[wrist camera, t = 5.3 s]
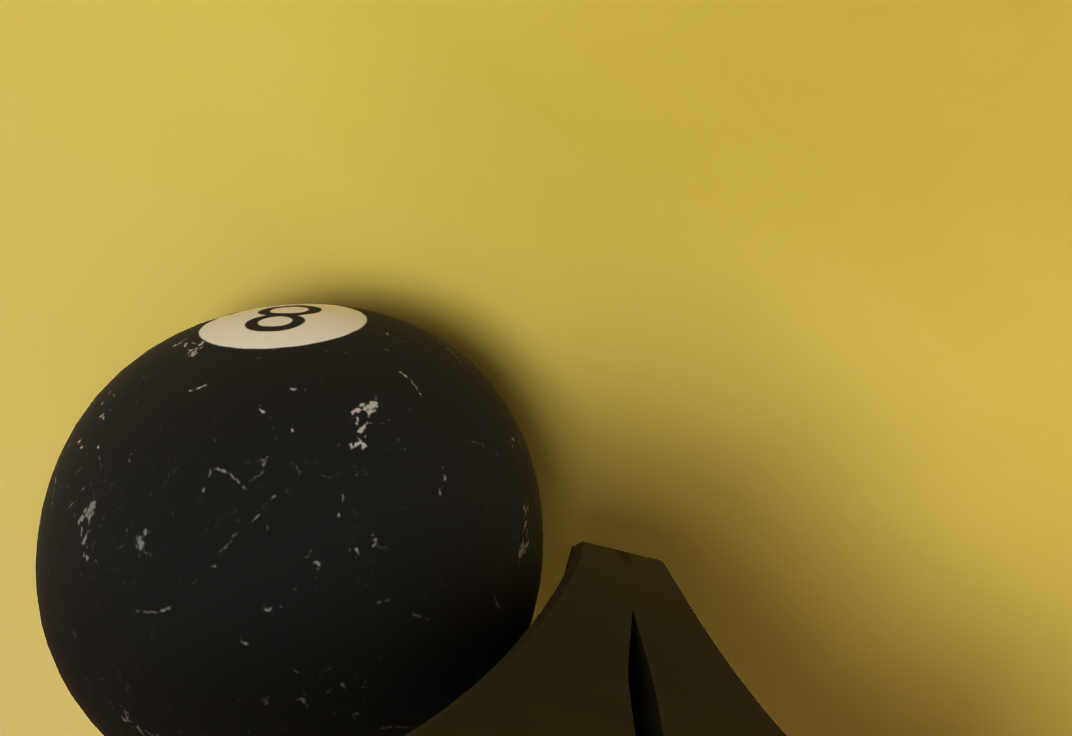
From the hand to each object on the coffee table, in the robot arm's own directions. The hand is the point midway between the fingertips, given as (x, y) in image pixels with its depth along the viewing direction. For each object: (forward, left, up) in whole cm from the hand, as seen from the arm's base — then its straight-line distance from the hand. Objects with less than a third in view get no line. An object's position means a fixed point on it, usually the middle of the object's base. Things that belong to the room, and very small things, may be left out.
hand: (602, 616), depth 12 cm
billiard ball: (+4, 0, -3) cm, 5 cm away
